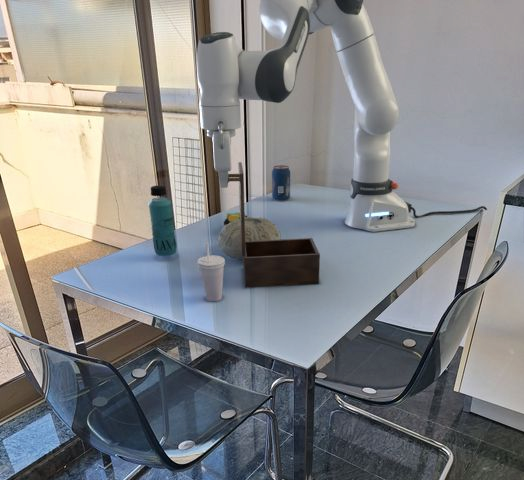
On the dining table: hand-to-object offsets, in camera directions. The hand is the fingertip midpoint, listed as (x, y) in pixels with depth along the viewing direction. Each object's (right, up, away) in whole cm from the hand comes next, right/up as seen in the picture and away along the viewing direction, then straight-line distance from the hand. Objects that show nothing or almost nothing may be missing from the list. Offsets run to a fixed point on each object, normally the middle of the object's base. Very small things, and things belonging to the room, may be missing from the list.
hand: (223, 183), depth 118 cm
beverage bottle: (-19, -12, +27) cm, 35 cm away
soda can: (+16, +19, +77) cm, 81 cm away
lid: (+4, -5, +3) cm, 8 cm away
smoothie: (-3, -27, +3) cm, 27 cm away
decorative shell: (+5, -12, +27) cm, 30 cm away
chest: (+14, -20, +13) cm, 27 cm away
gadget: (+1, 0, +47) cm, 47 cm away
